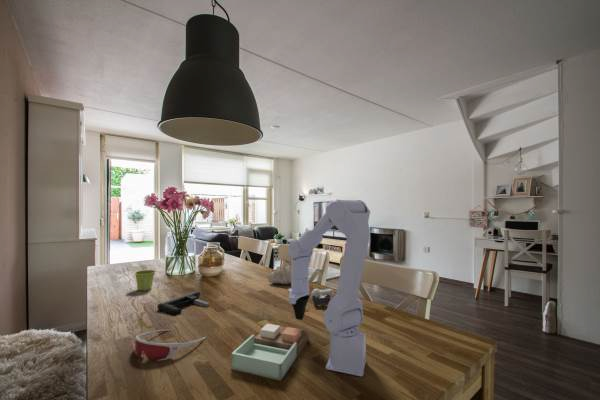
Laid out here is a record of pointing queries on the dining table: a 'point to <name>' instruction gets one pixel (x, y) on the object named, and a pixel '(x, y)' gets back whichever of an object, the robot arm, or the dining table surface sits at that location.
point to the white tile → (270, 331)
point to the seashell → (280, 275)
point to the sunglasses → (158, 347)
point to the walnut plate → (282, 341)
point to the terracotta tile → (291, 334)
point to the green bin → (263, 359)
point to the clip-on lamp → (321, 296)
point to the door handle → (181, 303)
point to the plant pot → (144, 279)
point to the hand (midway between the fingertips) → (299, 318)
